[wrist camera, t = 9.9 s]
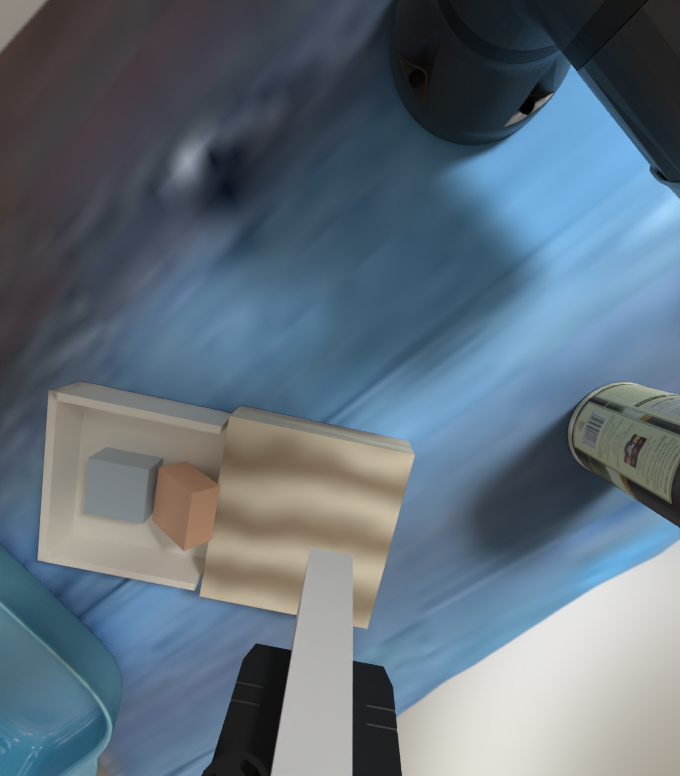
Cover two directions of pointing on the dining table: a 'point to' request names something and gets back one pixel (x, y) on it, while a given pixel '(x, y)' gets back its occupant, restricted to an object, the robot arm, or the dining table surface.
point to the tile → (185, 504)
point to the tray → (128, 433)
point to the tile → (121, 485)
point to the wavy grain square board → (301, 508)
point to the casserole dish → (50, 682)
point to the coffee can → (632, 443)
